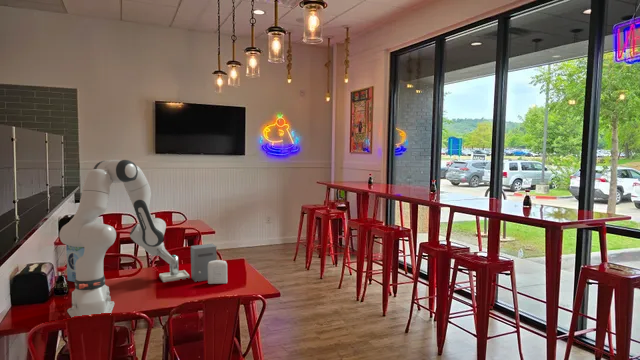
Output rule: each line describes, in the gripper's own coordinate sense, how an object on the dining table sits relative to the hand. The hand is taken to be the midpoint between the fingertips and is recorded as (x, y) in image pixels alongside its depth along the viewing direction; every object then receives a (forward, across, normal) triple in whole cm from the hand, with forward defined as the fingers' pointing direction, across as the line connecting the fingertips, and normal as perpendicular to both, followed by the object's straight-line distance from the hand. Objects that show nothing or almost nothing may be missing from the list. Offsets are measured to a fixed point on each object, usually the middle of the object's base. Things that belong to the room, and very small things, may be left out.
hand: (175, 262), depth 241 cm
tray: (+5, 0, +6) cm, 8 cm away
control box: (+15, -10, -4) cm, 19 cm away
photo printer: (+18, -22, -6) cm, 29 cm away
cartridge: (+4, 0, +5) cm, 6 cm away
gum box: (-26, +17, +38) cm, 49 cm away
